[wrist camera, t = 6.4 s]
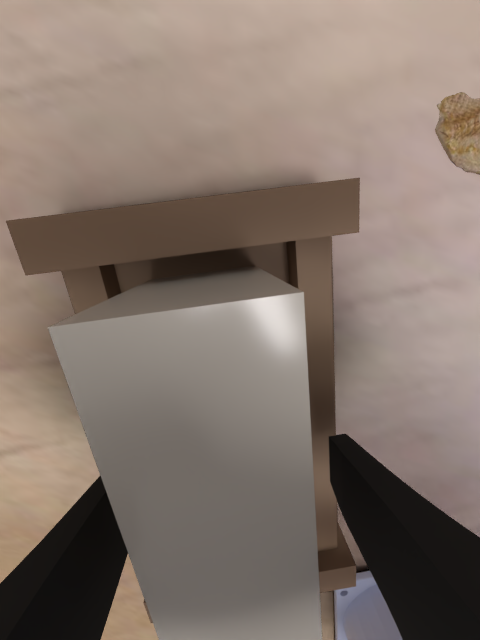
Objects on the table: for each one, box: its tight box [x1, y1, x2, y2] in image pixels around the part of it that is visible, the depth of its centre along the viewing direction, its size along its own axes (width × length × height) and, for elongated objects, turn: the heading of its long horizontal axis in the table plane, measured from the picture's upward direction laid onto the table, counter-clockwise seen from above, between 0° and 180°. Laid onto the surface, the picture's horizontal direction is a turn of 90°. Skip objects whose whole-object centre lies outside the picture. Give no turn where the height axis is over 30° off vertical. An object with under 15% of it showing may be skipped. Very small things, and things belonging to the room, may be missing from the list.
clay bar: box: [48, 266, 322, 640], centre depth 9 cm, size 13×4×6 cm, turn 7°
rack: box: [6, 178, 360, 623], centre depth 11 cm, size 18×10×3 cm, turn 7°
